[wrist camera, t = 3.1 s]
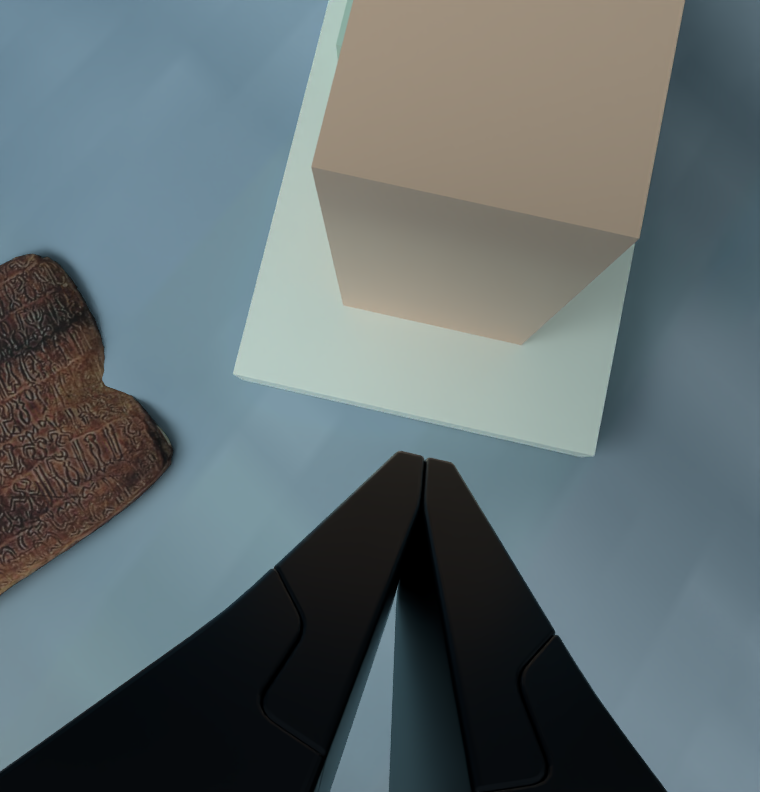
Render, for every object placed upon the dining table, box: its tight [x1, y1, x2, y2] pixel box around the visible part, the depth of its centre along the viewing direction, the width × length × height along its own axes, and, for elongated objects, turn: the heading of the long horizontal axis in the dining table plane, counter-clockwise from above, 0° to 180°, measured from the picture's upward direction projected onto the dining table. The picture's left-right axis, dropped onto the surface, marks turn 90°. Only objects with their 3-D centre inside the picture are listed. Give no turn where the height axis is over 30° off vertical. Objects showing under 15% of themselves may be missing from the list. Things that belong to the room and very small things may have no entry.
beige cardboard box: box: [311, 0, 685, 345], centre depth 17 cm, size 5×6×10 cm
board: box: [233, 0, 635, 457], centre depth 22 cm, size 18×12×4 cm, turn 167°
